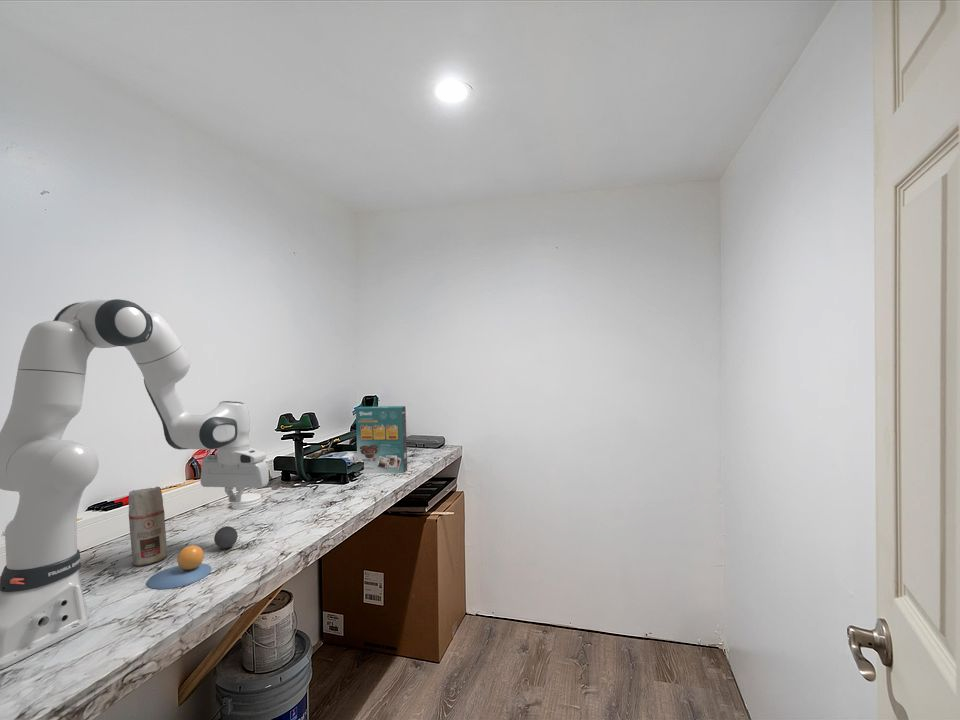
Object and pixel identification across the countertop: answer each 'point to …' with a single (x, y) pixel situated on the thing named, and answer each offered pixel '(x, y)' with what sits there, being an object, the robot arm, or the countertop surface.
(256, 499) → the coaster
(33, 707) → the countertop surface
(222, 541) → the black ball
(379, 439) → the cake mix box
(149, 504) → the beige paper tall bag
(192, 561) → the orange ball
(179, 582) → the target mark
